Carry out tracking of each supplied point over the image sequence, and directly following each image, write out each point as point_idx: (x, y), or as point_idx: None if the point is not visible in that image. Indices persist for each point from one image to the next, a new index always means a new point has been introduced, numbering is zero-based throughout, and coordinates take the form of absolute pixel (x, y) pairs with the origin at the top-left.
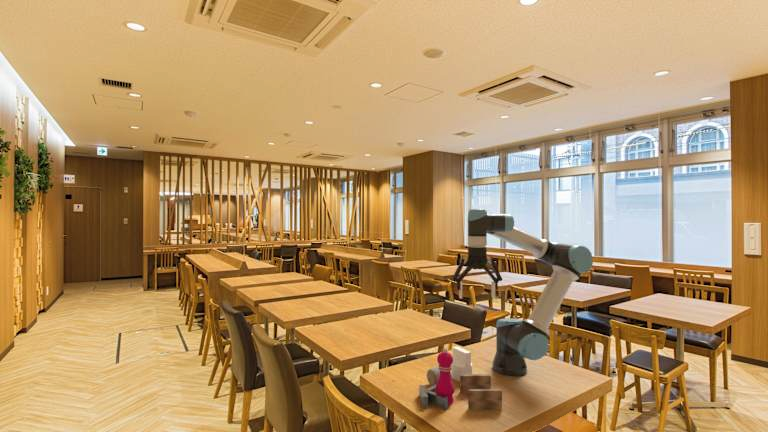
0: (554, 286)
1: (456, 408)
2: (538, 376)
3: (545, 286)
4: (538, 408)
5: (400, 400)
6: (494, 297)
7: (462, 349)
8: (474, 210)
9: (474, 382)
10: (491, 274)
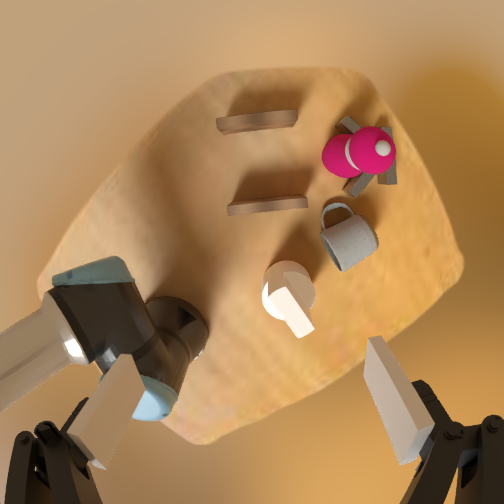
0: None
1: (317, 126)
2: None
3: None
4: (149, 145)
5: (419, 161)
6: (122, 358)
7: (289, 316)
8: None
9: (270, 199)
10: (64, 501)
